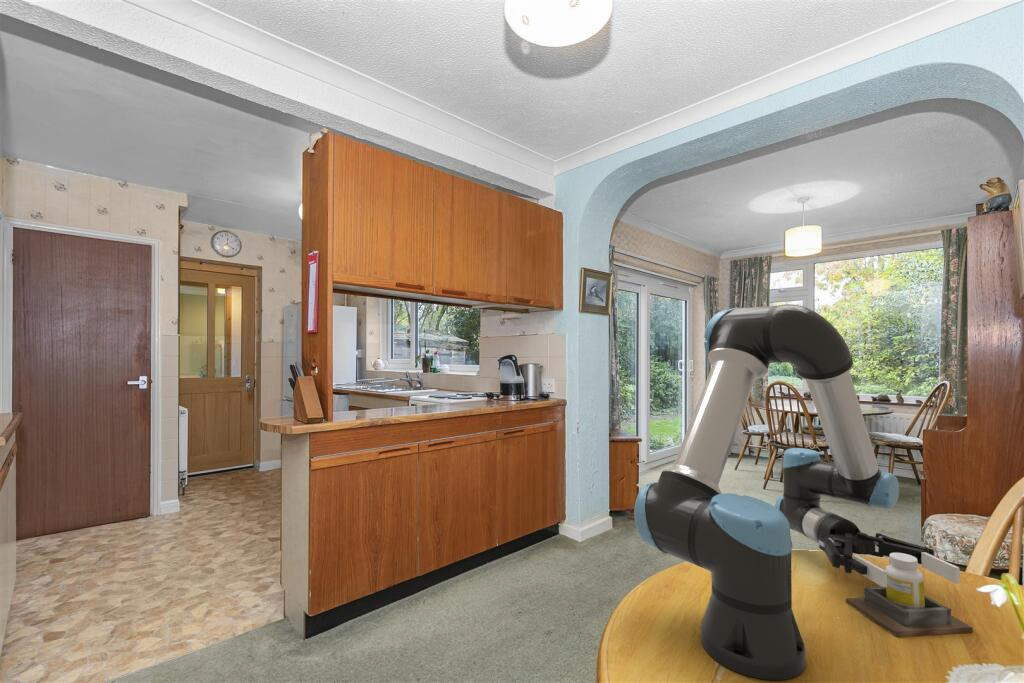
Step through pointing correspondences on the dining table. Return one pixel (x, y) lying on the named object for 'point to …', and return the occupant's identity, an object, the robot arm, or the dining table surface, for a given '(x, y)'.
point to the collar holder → (907, 615)
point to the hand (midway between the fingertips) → (921, 577)
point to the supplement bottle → (905, 582)
